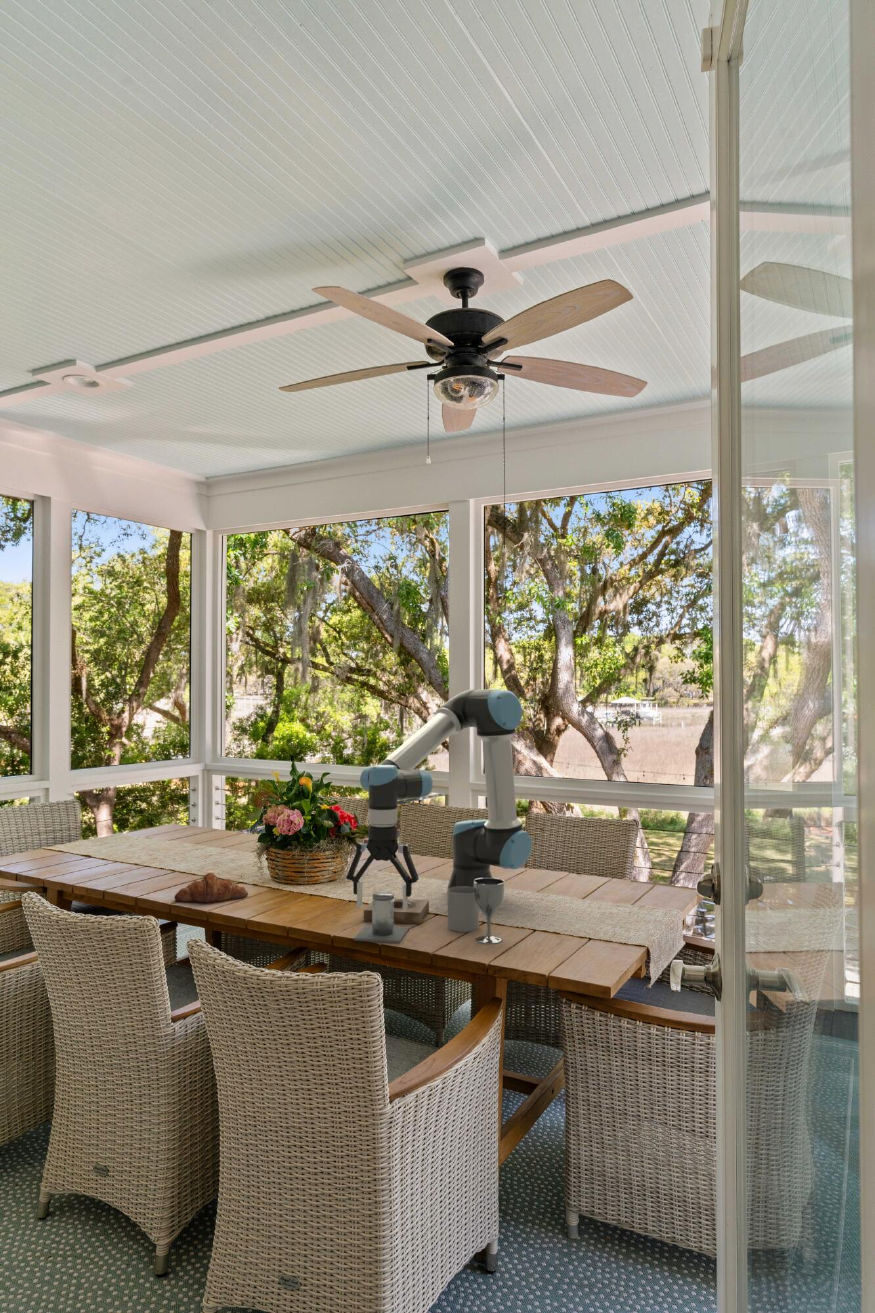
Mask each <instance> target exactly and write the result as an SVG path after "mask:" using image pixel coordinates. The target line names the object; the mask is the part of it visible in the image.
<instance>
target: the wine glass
mask: <svg viewBox="0 0 875 1313" xmlns="http://www.w3.org/2000/svg"><path fill="white" fill-rule="evenodd" d="M474 895H475V900H476V903H477V904H478V906H479V909H481V911H482V912H483V914H484V916H485V918H486V924H487V926H486V928H487V933H486V935H479V936H476V937H475V938H474V940H475V941H476V942H477V943H479V944H487V945H495V944H499V943H502V942H503V940H504V939H503V938H502V937H500V936H497V935H492V934H491V926H492V918H493V915H494V914H495V912H496V911H497V910H498V909H499V908H500V906H501V905H502V903H503V899H504V897H505V896H504V895H505V880H504V879H502V878H498V877H492V878H490V877H486V878H478V879H475V880H474Z"/></svg>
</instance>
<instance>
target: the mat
mask: <svg viewBox="0 0 875 1313" xmlns="http://www.w3.org/2000/svg"><path fill="white" fill-rule="evenodd" d="M409 931H410V927H408V926H407V927H406V926H394V933H393V934H391V935H387V936H378V935H374V934H372V925H370V924H367V925H366V924H365V925H364V926H363V927H362V928H361V930H360V931H359V932H358V933H357V934H356V935H355V936H354V938H353V941H355V942H357V941H358V942H370V943H373V942H374V943H389V944H390V943H391V944H401V942H402V941H403V939H404V938H405V937H406V935H407V933H408V932H409Z"/></svg>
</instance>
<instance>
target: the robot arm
mask: <svg viewBox="0 0 875 1313" xmlns="http://www.w3.org/2000/svg"><path fill="white" fill-rule="evenodd" d="M522 718H523V709H522V703H521V702H520V699H519V698H518V696H516V695H515V694H514V693H513V692H512V691H510V690H506V689H500V688H494V689H493V688H491V689H487V688H485V689H477V688H476V689H475V688H474V689H466V690H465V691H462V692H459V693H458V694H456V695H454V696H453V697H452V698H449V700H447V701H446V702H444V703H443V704H442V705H441V706H440V707H439V708H437V709H436V711H435V713H434V717H432V718H431V719H430V720H429V721H428V722H426V723H425V724H424V725H423V726H422V727H420V728H419V729H418V730H417V731H416V732H415V733H414V734H412V736H410V737H409V738H408V739H407V740H406V741H404V743H402V744H401V745H400V746H399V747H398V748H396V749H395V750H394V751H393V752H392V753H391V754H390V755H389V756H387V757H386V758H385V759H384V760H382V762H380V763H379V764H378V765H377V764H376V765H372V766H367V767H365V768H363V770H362V772H361V774H360V778H359V781H360V782H359V783H360V785H361V788H362V789H363V790H364V791H365V792H367V793H368V823H369V824H370V825H369V826H368V842H367V843H363V842H358V843H357V844H356V847H355V855H354V857H353V859H352V862H351V864H350V867H349V870H348V871H347V874H346V879H347V880H348V881H351V882H352V883H353V884H352V886H353V888H352V889H353V895H356V909H361V908H362V906H363V880H360V879H361V878H362V877H363V875H364V874H365V873H366V871H367V869H368V868H369V867H370V865H371V864H372V863H373V861H378V862H379V861H385V862H388V861H389V862H391V864H392V865H393V866H394V868H395V869H396V872H398V873H399V875H400V877H401V878H402V880H403V882H404V883H403V884H402V899H403V910H406V909H407V908H408V899H409V897H411V896H412V892H413V891H412V890H413V888H412V884H414V883H415V884H416V883H417V882H418V881H419V875H418V872H417V869H416V867H415V864H414V861H413V858H412V857H411V854H410V845H409V843H405V844H399V843H398V826H397V823H398V801H401V800H408V799H409V800H411V799H420V798H424V797H427V796H428V795H430V793H431V792H432V790H433V785H434V784H433V778H432V776H431V774H430V773H429V772H428V770H425V769H415V768H416V767H418V766H419V764H421V763H422V762H423V761H424V760H425V759H426V758H427V757H428V756H430V754H431V753H433V752H434V751H435V750H436V749H438V747H439V746H440V745H442V743H444V742H445V741H446V740H448V738H449V737H451V735H452V736H454V735H458V734H459V733H460V732H461V731H462V730H465V729H468V728H476V736H477V737H479V739H480V740H481V741H482V749H483V750H482V751H483V763H484V764H483V765H484V776H485V777H484V778H485V779H484V780H485V790H486V792H485V793H486V801H487V815H488V816H487V817H488V818H487V819H484V818H483V819H471V820H463V821H458V822H456V823H455V824H454V825H453V834H452V872H451V874H450V878H449V881H448V883H447V886H446V887H447V888H446V889H447V891H446V892H447V893H446V894H447V895H448V889H449V888H452V887H459V886H467V887H474V880H475V879H478V878H486V877H490V878H493V874H492V872H491V866H493V867H498V868H502V869H504V870H505V869H507V870H517V869H521V868H522V867H523V866H524V865H525V864H526V863H527V861H528V860H529V858H530V855H531V853H532V849H533V848H532V847H533V845H532V844H533V843H532V842H533V841H532V837H531V835H530V834H529V833H528V832H527V831H525V830H523V821H522V820H521V819H520V818H519V817H518V816H517V815H518V814H517V804H516V790H515V777H514V776H515V774H514V765H513V763H514V761H513V752H512V751H513V750H512V747H513V746H512V738H513V737H514V735H515V734H516V728H517V727H518V726H520V724H521V720H522ZM414 769H415V770H414ZM366 850H367V851H368V853H369V854H370V855H369V856H368V857H367V858H366V861H365V862H364V863H363V865H362V866H361V868H360V869H359V870H358V872H357V873H356V875H355V872H356V870H357V867H358V865H359V862H360V860H361V858H362V854H363V852H365V851H366ZM398 850H399V851H400V853H401V854H402V855H403V859H404V862H405V864H406V866H407V870H408V872H409V873H408V872H407V870H406V869H405V867H404V866H403V864H402V863H401V861H400V859H399V857H398V855H397V854H396V853H397V852H398ZM409 874H410V875H409Z"/></svg>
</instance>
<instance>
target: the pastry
mask: <svg viewBox="0 0 875 1313" xmlns="http://www.w3.org/2000/svg"><path fill="white" fill-rule="evenodd" d="M248 896H249V892H248V891H247V890H246V888H245V886H239V885H238V884H237V883H236V882H234V881H233V880H232V879H229V878H226V879H221V878H218V876H217V875H216V874H215V873H214V872H207V873H206V874H205V875H204V876H203V878H201V879H200V880H195V881H192V882H191V883H190V884H188V885H187V886H186V887H183V888H181V889H179V890H178V891H177V892H176V893H175V895H174V898H173V899H174V900H175V901H176V902H181V903H199V904H214V903H224V902H228V901H230V900H231V901H233V900H240V899H244V898H245V897H248Z"/></svg>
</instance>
